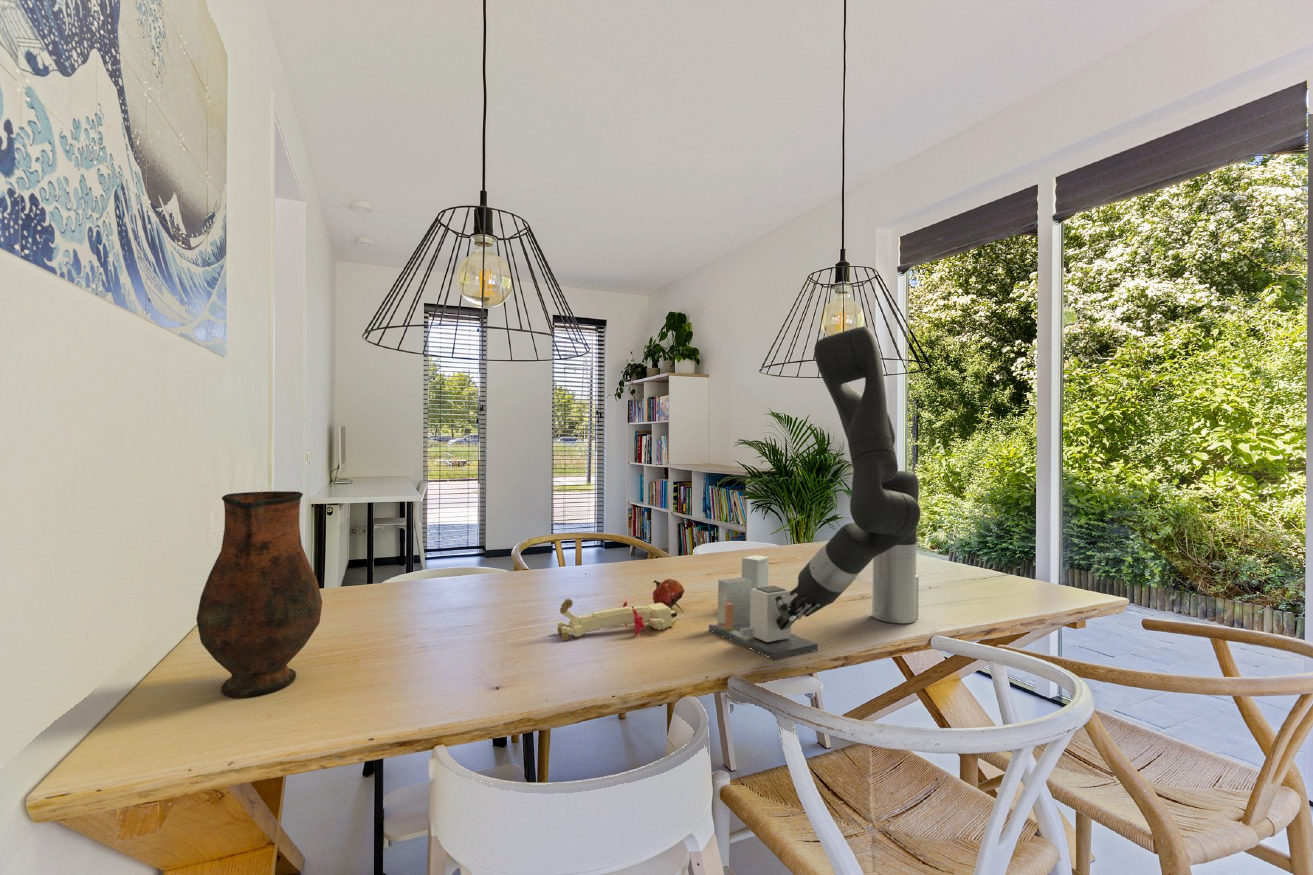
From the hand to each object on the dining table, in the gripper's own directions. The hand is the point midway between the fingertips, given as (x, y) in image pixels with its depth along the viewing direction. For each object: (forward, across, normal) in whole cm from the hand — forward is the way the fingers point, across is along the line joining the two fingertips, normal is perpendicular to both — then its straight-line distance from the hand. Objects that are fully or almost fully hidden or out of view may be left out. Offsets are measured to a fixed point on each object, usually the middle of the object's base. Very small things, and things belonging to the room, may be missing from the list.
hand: (781, 625), depth 119 cm
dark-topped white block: (+4, +1, 0) cm, 4 cm away
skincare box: (+22, -15, -15) cm, 30 cm away
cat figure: (+20, +22, -14) cm, 33 cm away
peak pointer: (+9, +4, -6) cm, 12 cm away
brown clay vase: (+23, +84, -16) cm, 89 cm away
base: (+7, 0, -1) cm, 7 cm away
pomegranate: (+27, +4, -21) cm, 35 cm away
